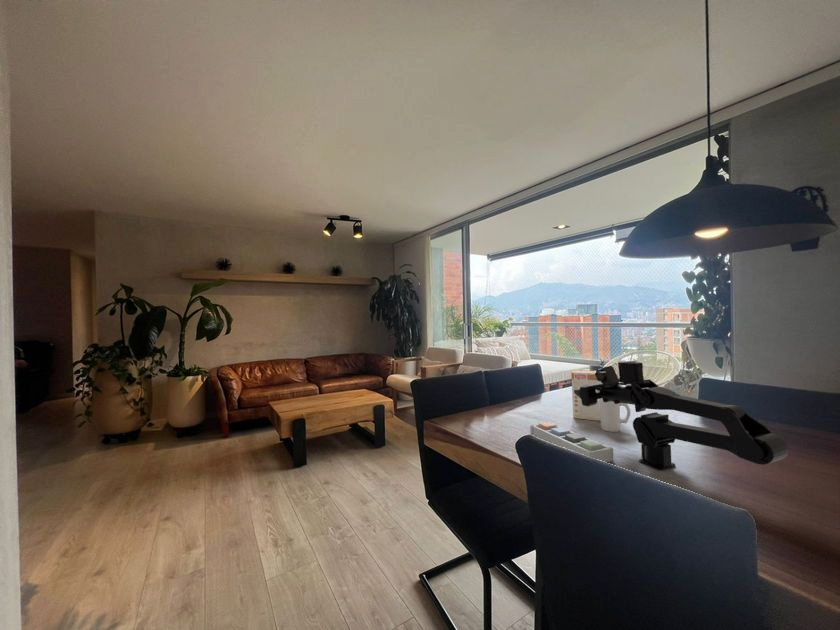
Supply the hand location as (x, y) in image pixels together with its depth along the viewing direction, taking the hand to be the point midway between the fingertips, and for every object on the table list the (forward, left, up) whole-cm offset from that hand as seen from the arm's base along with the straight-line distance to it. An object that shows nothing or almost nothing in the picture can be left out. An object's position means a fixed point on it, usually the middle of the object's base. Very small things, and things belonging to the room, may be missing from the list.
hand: (584, 389), depth 123 cm
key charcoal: (-9, +13, -14) cm, 21 cm away
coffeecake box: (+15, -19, -17) cm, 29 cm away
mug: (+1, -15, -17) cm, 23 cm away
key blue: (-2, +13, -14) cm, 20 cm away
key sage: (-15, +13, -14) cm, 25 cm away
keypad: (-6, +13, -17) cm, 22 cm away
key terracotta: (+4, +13, -14) cm, 20 cm away
